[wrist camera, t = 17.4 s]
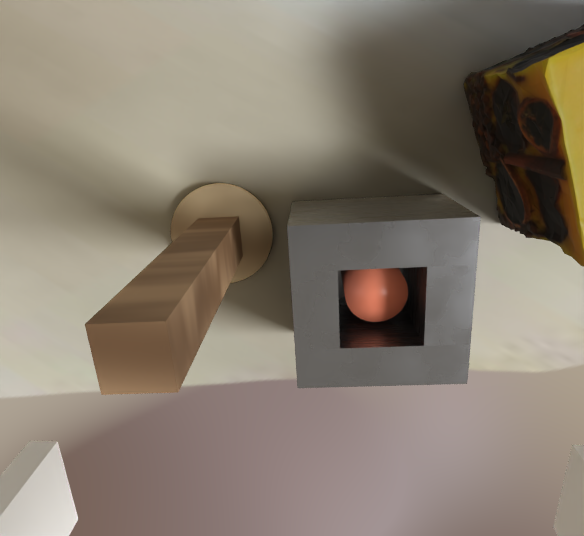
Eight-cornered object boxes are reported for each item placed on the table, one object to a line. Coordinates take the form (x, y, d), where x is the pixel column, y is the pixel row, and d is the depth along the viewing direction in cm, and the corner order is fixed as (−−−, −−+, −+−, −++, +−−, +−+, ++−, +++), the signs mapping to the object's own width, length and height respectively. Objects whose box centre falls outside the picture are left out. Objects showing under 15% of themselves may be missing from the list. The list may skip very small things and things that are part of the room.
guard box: (292, 201, 30) (287, 226, 24) (442, 193, 30) (480, 216, 23) (300, 333, 33) (297, 388, 27) (435, 329, 33) (467, 383, 26)
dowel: (198, 218, 30) (84, 324, 15) (238, 216, 30) (165, 321, 15) (203, 257, 31) (101, 394, 16) (242, 255, 31) (178, 392, 16)
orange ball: (340, 246, 30) (344, 265, 26) (396, 243, 30) (408, 262, 26) (341, 297, 31) (345, 323, 28) (395, 295, 31) (407, 320, 27)
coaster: (166, 185, 30) (163, 187, 30) (268, 180, 30) (268, 181, 29) (180, 282, 32) (178, 285, 32) (276, 278, 32) (275, 281, 31)
